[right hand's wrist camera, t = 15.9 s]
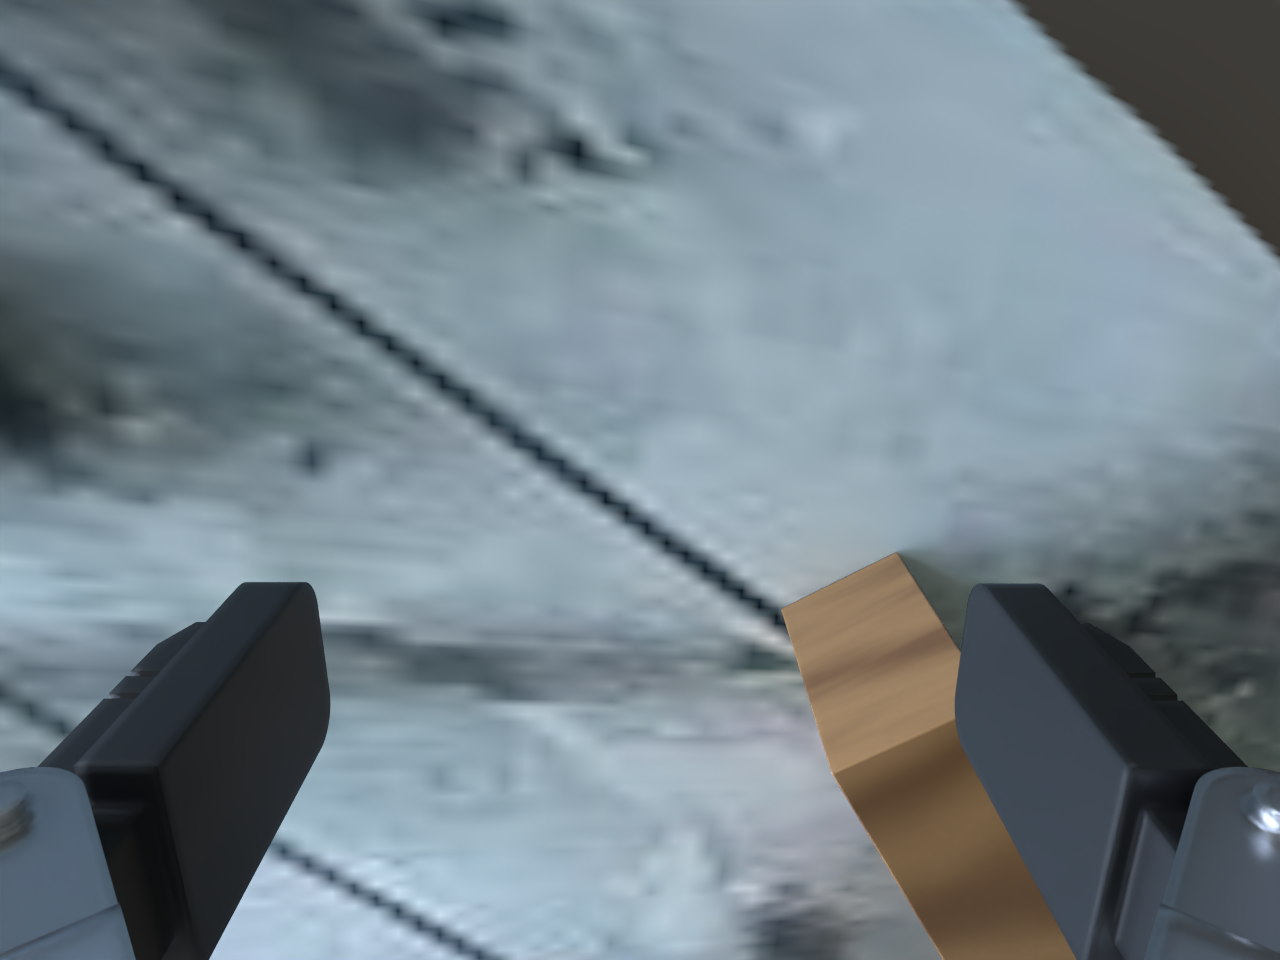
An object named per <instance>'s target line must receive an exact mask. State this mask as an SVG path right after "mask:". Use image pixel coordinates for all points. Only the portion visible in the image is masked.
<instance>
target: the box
mask: <svg viewBox="0 0 1280 960" xmlns="http://www.w3.org/2000/svg"><path fill="white" fill-rule="evenodd" d="M782 613H783V617H784V620H785V623H786V626H787V630H788V633H789V636H790V639H791V643H792V646H793V649H794V652H795V656H796V659H797V662H798V665H799V669H800V672H801V675H802V678H803V682H804V685H805V688H806V691H807V695H808V698H809V701H810V705H811V708H812V711H813V714H814V718H815V721H816V724H817V727H818V731H819V734H820V737H821V740H822V744H823V747H824V750H825V753H826V757H827V760H828V763H829V766H830V770H831V773H832V775H833V777H834V779H835V780H836V782H837V784H838V785H839V787H840V789H841V790H842V792H843V794H844V795H845V797H846V799H847V800H848V802H849V804H850V805H851V807H852V809H853V810H854V812H855V814H856V815H857V817H858V819H859V820H860V822H861V824H862V825H863V827H864V829H865V830H866V832H867V834H868V835H869V837H870V839H871V840H872V842H873V844H874V845H875V847H876V849H877V850H878V852H879V854H880V855H881V857H882V859H883V860H884V862H885V864H886V865H887V867H888V869H889V870H890V872H891V874H892V875H893V877H894V879H895V880H896V882H897V884H898V885H899V887H900V889H901V890H902V892H903V894H904V895H905V897H906V899H907V900H908V902H909V904H910V905H911V907H912V909H913V910H914V912H915V914H916V915H917V917H918V919H919V920H920V922H921V924H922V925H923V927H924V929H925V930H926V932H927V934H928V935H929V937H930V939H931V940H932V942H933V944H934V945H935V947H936V949H937V950H938V952H939V954H940V955H941V957H942V959H943V960H1076V958H1075V956H1074V954H1073V952H1072V950H1071V948H1070V947H1069V945H1068V943H1067V941H1066V939H1065V937H1064V935H1063V934H1062V932H1061V930H1060V928H1059V926H1058V924H1057V922H1056V921H1055V919H1054V917H1053V915H1052V913H1051V911H1050V909H1049V908H1048V906H1047V904H1046V902H1045V900H1044V898H1043V896H1042V895H1041V893H1040V891H1039V889H1038V887H1037V885H1036V883H1035V882H1034V880H1033V878H1032V876H1031V874H1030V872H1029V870H1028V869H1027V867H1026V865H1025V863H1024V861H1023V859H1022V857H1021V856H1020V854H1019V852H1018V850H1017V848H1016V846H1015V844H1014V843H1013V841H1012V839H1011V837H1010V835H1009V833H1008V831H1007V830H1006V828H1005V826H1004V824H1003V822H1002V820H1001V818H1000V817H999V815H998V813H997V811H996V809H995V807H994V805H993V804H992V802H991V800H990V798H989V796H988V794H987V792H986V791H985V789H984V787H983V785H982V783H981V781H980V779H979V778H978V776H977V774H976V772H975V770H974V768H973V766H972V765H971V763H970V761H969V759H968V757H967V755H966V753H965V752H964V750H963V748H962V745H961V743H960V740H959V736H958V732H957V727H956V721H955V691H956V684H957V676H958V669H959V662H960V655H961V651H960V649H959V648H958V646H957V645H956V643H955V641H954V640H953V638H952V637H951V635H950V634H949V632H948V631H947V629H946V627H945V626H944V624H943V623H942V621H941V620H940V618H939V616H938V615H937V613H936V612H935V610H934V609H933V607H932V606H931V604H930V602H929V601H928V599H927V598H926V596H925V595H924V593H923V591H922V590H921V588H920V587H919V585H918V584H917V582H916V580H915V579H914V577H913V576H912V574H911V573H910V571H909V570H908V568H907V566H906V565H905V563H904V562H903V560H902V559H901V557H900V555H899V554H898V553H897V552H896V553H894V554H892V555H890V556H888V557H886V558H884V559H882V560H879V561H877V562H875V563H873V564H871V565H869V566H867V567H865V568H863V569H861V570H859V571H857V572H855V573H853V574H851V575H849V576H847V577H845V578H843V579H841V580H839V581H837V582H835V583H833V584H831V585H829V586H827V587H825V588H823V589H821V590H819V591H816V592H814V593H812V594H810V595H808V596H806V597H804V598H802V599H800V600H798V601H796V602H794V603H792V604H790V605H788V606H786V607H784V608H782Z"/></svg>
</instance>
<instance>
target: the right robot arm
mask: <svg viewBox="0 0 1280 960" xmlns="http://www.w3.org/2000/svg"><path fill="white" fill-rule="evenodd" d="M329 717H330V691H329V684H328V676H327V669H326V662H325V654H324V647H323V640H322V632H321V625H320V618H319V610H318V604H317V598H316V595H315V592H314V590H313V588H312V586H311V585H310V584H309V583H307V582H245V583H242V584H241V585H240V586H239V587H238V588H237V589H236V590H235V591H234V592H233V593H232V594H231V595H230V596H229V597H228V598H227V600H226V601H225V602H224V603H223V604H222V605H221V606H220V607H219V608H218V609H217V610H216V611H215V613H214V614H213V615H212V616H211V617H210V618H209V619H208V620H207V621H206V622H196V623H194V624H192V625H190V626H189V627H187V628H185V629H183V630H182V631H180V632H178V633H176V634H175V635H173V636H171V637H169V638H168V639H166V640H164V641H162V642H161V643H159V644H157V645H156V646H155V647H154V648H153V649H152V650H151V651H150V652H149V653H148V654H147V655H146V656H145V657H144V658H143V659H142V660H141V661H140V662H139V663H138V664H137V665H136V666H135V668H134V669H133V670H132V671H131V676H126V677H125V678H124V679H123V680H122V681H121V682H120V683H119V684H118V685H117V686H116V687H115V688H114V689H113V690H112V691H111V692H110V697H109V699H103V700H102V701H101V702H100V703H99V704H98V705H97V706H96V708H95V709H94V710H93V711H92V712H91V713H90V714H89V715H88V716H87V717H86V718H85V719H84V720H83V721H82V722H81V723H80V724H79V725H78V726H77V727H76V728H75V729H74V730H73V731H72V732H71V733H70V734H69V735H68V736H67V737H66V738H65V739H64V740H63V741H62V742H61V743H60V744H59V745H58V747H57V748H56V749H55V750H54V751H53V752H52V753H51V754H50V755H49V756H48V757H47V758H46V759H45V760H44V761H43V762H42V763H41V764H40V765H39V766H38V767H30V768H21V769H15V770H10V771H5V772H1V773H0V960H209V958H210V956H211V955H212V953H213V951H214V949H215V947H216V945H217V943H218V941H219V940H220V938H221V936H222V934H223V932H224V930H225V928H226V926H227V924H228V923H229V921H230V919H231V917H232V915H233V913H234V911H235V909H236V908H237V906H238V904H239V902H240V900H241V898H242V896H243V894H244V893H245V891H246V889H247V887H248V885H249V883H250V881H251V879H252V877H253V876H254V874H255V872H256V870H257V868H258V866H259V864H260V862H261V861H262V859H263V857H264V855H265V853H266V851H267V849H268V847H269V846H270V844H271V842H272V840H273V838H274V836H275V834H276V832H277V830H278V829H279V827H280V825H281V823H282V821H283V819H284V817H285V815H286V814H287V812H288V810H289V808H290V806H291V804H292V802H293V800H294V798H295V797H296V795H297V793H298V791H299V789H300V787H301V785H302V783H303V782H304V780H305V778H306V776H307V774H308V772H309V770H310V768H311V767H312V765H313V763H314V761H315V759H316V757H317V755H318V753H319V751H320V750H321V748H322V745H323V743H324V740H325V737H326V734H327V729H328V724H329ZM955 721H956V727H957V732H958V736H959V740H960V743H961V745H962V748H963V750H964V752H965V753H966V755H967V757H968V759H969V761H970V763H971V765H972V766H973V768H974V770H975V772H976V774H977V776H978V778H979V779H980V781H981V783H982V785H983V787H984V789H985V791H986V792H987V794H988V796H989V798H990V800H991V802H992V804H993V805H994V807H995V809H996V811H997V813H998V815H999V817H1000V818H1001V820H1002V822H1003V824H1004V826H1005V828H1006V830H1007V831H1008V833H1009V835H1010V837H1011V839H1012V841H1013V843H1014V844H1015V846H1016V848H1017V850H1018V852H1019V854H1020V856H1021V857H1022V859H1023V861H1024V863H1025V865H1026V867H1027V869H1028V870H1029V872H1030V874H1031V876H1032V878H1033V880H1034V882H1035V883H1036V885H1037V887H1038V889H1039V891H1040V893H1041V895H1042V896H1043V898H1044V900H1045V902H1046V904H1047V906H1048V908H1049V909H1050V911H1051V913H1052V915H1053V917H1054V919H1055V921H1056V922H1057V924H1058V926H1059V928H1060V930H1061V932H1062V934H1063V935H1064V937H1065V939H1066V941H1067V943H1068V945H1069V947H1070V948H1071V950H1072V952H1073V954H1074V956H1075V958H1076V960H1280V773H1279V772H1275V771H1270V770H1265V769H1259V768H1250V767H1247V766H1246V765H1245V764H1244V762H1243V761H1242V760H1241V759H1240V758H1239V757H1238V756H1237V755H1236V754H1235V753H1234V752H1233V751H1232V750H1231V749H1230V748H1229V747H1228V746H1227V745H1226V744H1225V743H1224V742H1223V741H1222V740H1221V739H1220V738H1219V737H1218V736H1217V735H1216V734H1215V733H1214V732H1213V731H1212V730H1211V729H1210V728H1209V727H1208V726H1207V725H1206V724H1205V723H1204V722H1203V721H1202V720H1201V719H1200V718H1199V717H1198V716H1197V715H1196V714H1195V713H1194V712H1193V711H1192V710H1191V709H1190V708H1189V707H1188V706H1187V705H1186V704H1185V703H1184V701H1178V700H1177V694H1176V693H1175V692H1174V691H1173V690H1172V689H1171V688H1170V687H1169V686H1168V685H1167V684H1166V683H1165V682H1164V681H1163V680H1162V679H1161V678H1156V677H1155V672H1154V671H1153V670H1152V669H1151V668H1150V667H1149V666H1148V665H1147V664H1146V663H1145V662H1144V661H1143V660H1142V659H1141V658H1140V657H1139V656H1138V655H1137V654H1136V653H1135V652H1134V651H1133V650H1132V649H1131V648H1130V647H1129V646H1128V645H1126V644H1124V643H1123V642H1121V641H1119V640H1117V639H1115V638H1114V637H1112V636H1110V635H1108V634H1107V633H1105V632H1103V631H1101V630H1100V629H1098V628H1096V627H1094V626H1093V625H1091V624H1080V623H1079V622H1078V621H1077V620H1076V619H1075V617H1074V616H1073V615H1072V614H1071V613H1070V612H1069V611H1068V610H1067V609H1066V608H1065V607H1064V606H1063V605H1062V603H1061V602H1060V601H1059V600H1058V599H1057V598H1056V597H1055V596H1054V595H1053V594H1052V593H1051V592H1050V591H1049V589H1048V588H1047V587H1045V586H1044V585H1042V584H977V585H976V586H975V587H974V588H973V589H972V591H971V593H970V596H969V600H968V605H967V612H966V619H965V626H964V633H963V640H962V648H961V655H960V662H959V669H958V676H957V684H956V691H955Z"/></svg>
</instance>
